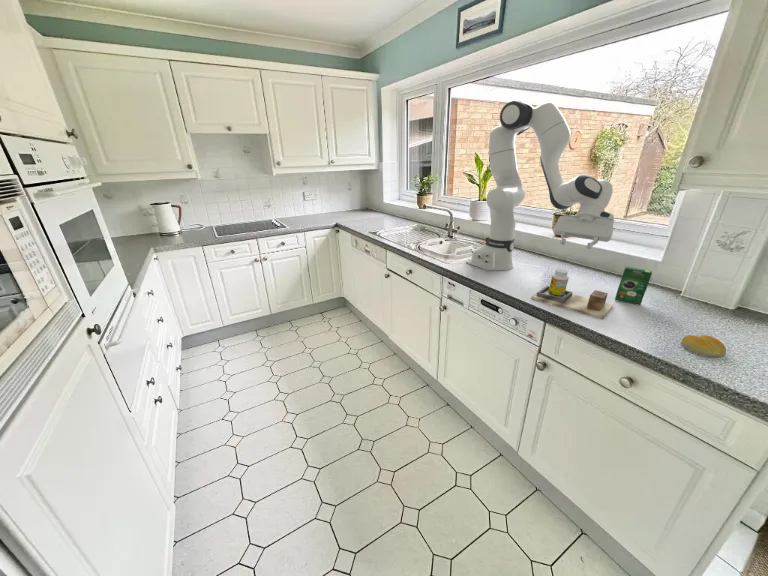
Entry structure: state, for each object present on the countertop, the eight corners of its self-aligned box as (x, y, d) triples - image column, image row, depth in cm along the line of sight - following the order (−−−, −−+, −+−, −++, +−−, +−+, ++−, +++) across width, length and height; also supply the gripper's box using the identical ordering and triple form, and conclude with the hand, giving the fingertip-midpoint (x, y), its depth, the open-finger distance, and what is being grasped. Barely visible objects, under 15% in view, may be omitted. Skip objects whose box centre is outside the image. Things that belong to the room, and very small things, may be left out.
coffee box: (641, 303, 117) (652, 269, 112) (641, 306, 115) (652, 272, 110) (615, 298, 122) (624, 265, 117) (614, 300, 120) (624, 268, 115)
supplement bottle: (548, 290, 126) (553, 266, 122) (563, 293, 124) (570, 269, 120) (547, 296, 122) (553, 271, 117) (563, 299, 119) (570, 274, 115)
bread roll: (673, 341, 94) (677, 329, 93) (706, 343, 93) (711, 331, 92) (695, 357, 87) (700, 345, 85) (731, 359, 86) (737, 347, 84)
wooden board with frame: (531, 298, 123) (533, 284, 120) (544, 289, 131) (546, 275, 129) (602, 319, 107) (607, 303, 104) (612, 306, 115) (617, 291, 113)
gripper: (559, 209, 132) (546, 236, 129) (618, 215, 118) (604, 245, 116) (561, 218, 136) (548, 245, 134) (618, 225, 123) (604, 255, 120)
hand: (575, 245), depth 125 cm, fingers open, 8 cm apart
